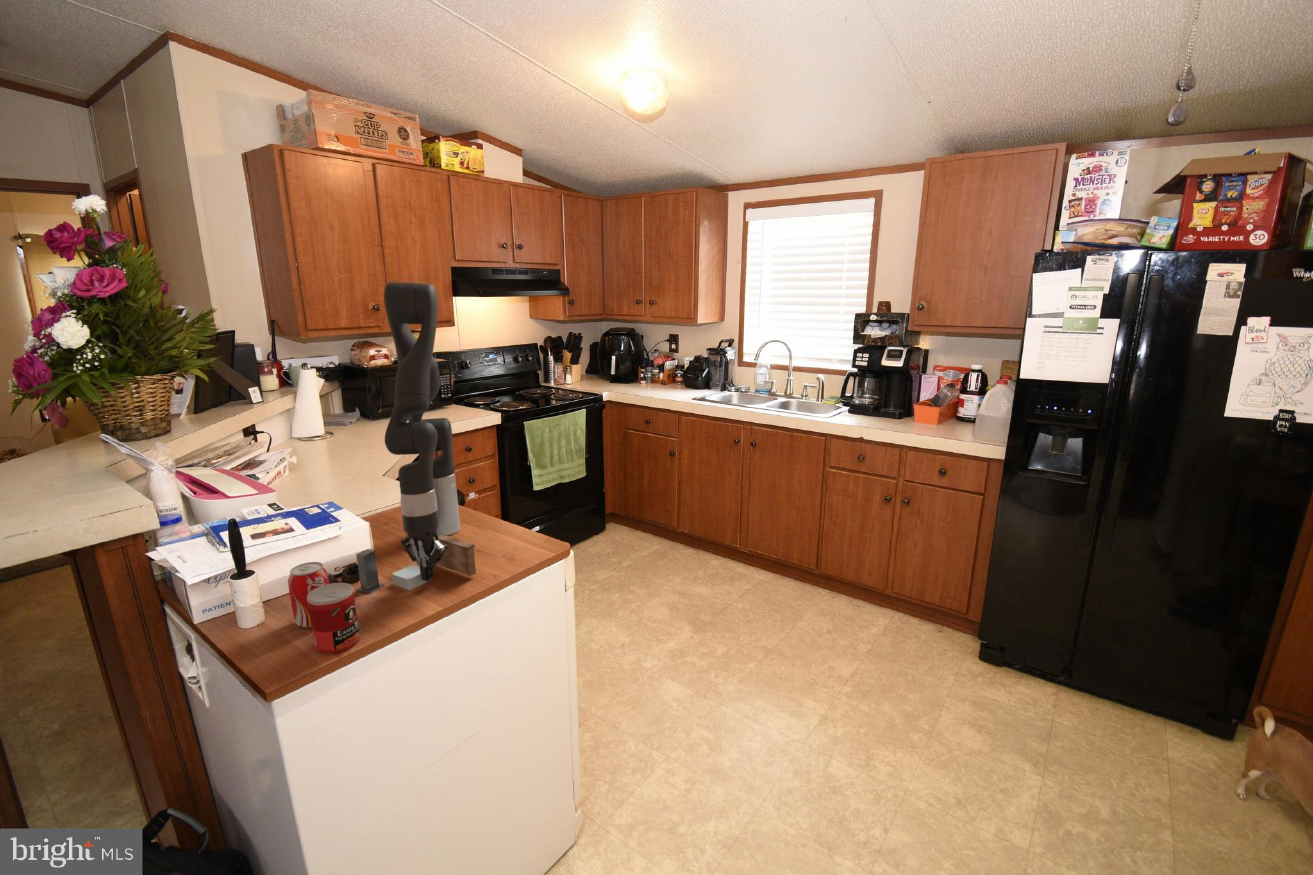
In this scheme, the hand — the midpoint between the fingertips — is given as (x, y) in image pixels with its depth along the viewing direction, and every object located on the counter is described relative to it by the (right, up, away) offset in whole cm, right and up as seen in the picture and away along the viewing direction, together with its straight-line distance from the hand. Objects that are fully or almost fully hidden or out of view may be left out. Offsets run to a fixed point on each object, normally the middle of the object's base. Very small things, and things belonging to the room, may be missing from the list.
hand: (427, 579), depth 132 cm
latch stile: (-13, -2, 0) cm, 13 cm away
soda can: (-18, -5, -14) cm, 23 cm away
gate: (+4, +1, +7) cm, 8 cm away
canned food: (-9, -7, -22) cm, 25 cm away
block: (-5, -2, +3) cm, 6 cm away
